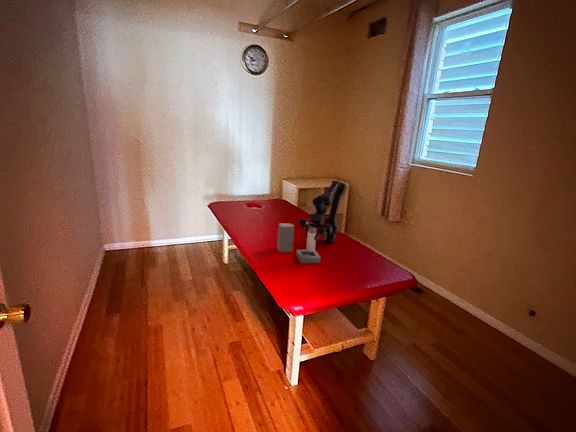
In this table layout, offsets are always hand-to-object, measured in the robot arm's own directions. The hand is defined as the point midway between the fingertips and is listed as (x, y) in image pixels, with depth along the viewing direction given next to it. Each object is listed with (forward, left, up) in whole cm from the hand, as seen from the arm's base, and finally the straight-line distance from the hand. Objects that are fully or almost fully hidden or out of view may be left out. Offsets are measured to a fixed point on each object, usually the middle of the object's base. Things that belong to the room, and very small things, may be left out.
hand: (310, 239), depth 172 cm
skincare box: (-15, -11, -13) cm, 22 cm away
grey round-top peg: (-1, +1, -7) cm, 7 cm away
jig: (-1, 0, -13) cm, 13 cm away
